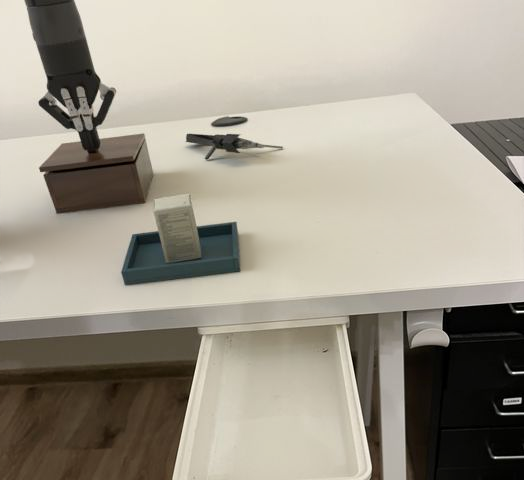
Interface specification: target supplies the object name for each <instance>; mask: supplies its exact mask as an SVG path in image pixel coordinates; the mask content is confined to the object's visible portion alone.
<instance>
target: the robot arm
mask: <svg viewBox="0 0 524 480" xmlns="http://www.w3.org/2000/svg"><path fill="white" fill-rule="evenodd" d="M23 2H24V4H25V7H26V11H27V15H28V20H29V25H30V29H31V32H32V38H33V41H34V42H35V45H36V48H37V51H38V55H39V58H40V61H41V64H42V68H43V70H44V73H45V77H46V90H47V91H46V93H45V94H44V95H43V96H42V97H41V98H40V99H39V100H38V101H37V102H38V106H39V107H40V108H41V109H42V110H44V111H45V112H46V113H47V114H48V115H49V116H51V117H52V118H53V119H54V120H55V121H56V122H58V123H59V124H60V125H61V126H62V127H64V129H66V130H75V131H77V133H78V136H79V141H81V143H82V147H83V149H84V150H87V152H88V153H96V152H97V151H98V149H99V147H100V139H101V138H100V136H99V133H98V129H97V128H98V126H101V125H103V123H104V121H105V120H106V118H107V115H108V113H109V111H110V108H111V106H112V104H113V101H114V99H115V97H116V94H117V90H116V88H115V87H112V86H111V87H109V86H107V85H106V84H104V83H103V82H102V81H101V78H100V76H99V75H98V74H97V72H96V70H95V66H94V62H93V58H92V55H91V51H90V47H89V44H88V40H87V36H86V32H85V28H84V25H83V21H82V19H81V14H80V12H79V9H78V7H77V5H76V1H75V0H24V1H23ZM98 93H99V97H100V99H101V100H102V102H101V105H100V108H99V110H98V112H97V115H95V113H94V109H95V108H94V103H95V101H96V98H97V95H98ZM57 102H58V103H60V104H61V105H62V106H63V107H64V108H66V109H67V111H68V112H66V111H65V110H64V109H62V108H61V107H60V106H59V105H58V104H57Z"/></svg>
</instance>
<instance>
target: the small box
mask: <svg viewBox="0 0 524 480" xmlns="http://www.w3.org/2000/svg"><path fill="white" fill-rule="evenodd" d="M152 211H153V216H154V220H155V223H156V224H155V225H156V227H157V231H158V232H159V236H160V240H161V244H162V248H163V252H164V256H165V260H166V263H173V262H180V261H185V260H192V259H197V258H201V257H202V255H201V247H200V242H199V236H198V231H197V226H198V225H197V222H196V217H195V211H194V206H193V201H192V197H191V194H190V193H182V194H177V195H171V196H164V197H159V198H154V199H153V205H152Z"/></svg>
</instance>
